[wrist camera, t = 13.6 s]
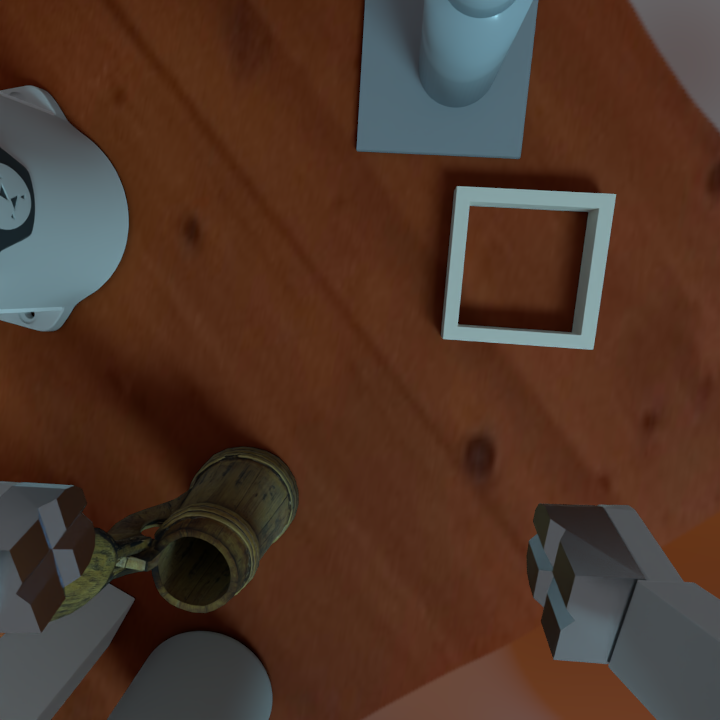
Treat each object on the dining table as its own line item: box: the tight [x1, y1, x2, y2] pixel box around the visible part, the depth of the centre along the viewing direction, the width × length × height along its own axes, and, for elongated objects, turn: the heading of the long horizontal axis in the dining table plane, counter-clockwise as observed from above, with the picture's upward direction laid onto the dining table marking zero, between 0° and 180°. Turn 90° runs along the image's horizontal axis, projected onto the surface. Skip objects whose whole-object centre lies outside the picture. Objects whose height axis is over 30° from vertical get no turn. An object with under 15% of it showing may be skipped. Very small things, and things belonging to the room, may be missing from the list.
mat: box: [357, 0, 538, 159], centre depth 35 cm, size 12×12×1 cm
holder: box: [441, 186, 616, 350], centre depth 36 cm, size 11×11×2 cm
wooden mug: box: [50, 447, 298, 622], centre depth 34 cm, size 9×14×18 cm, turn 73°
